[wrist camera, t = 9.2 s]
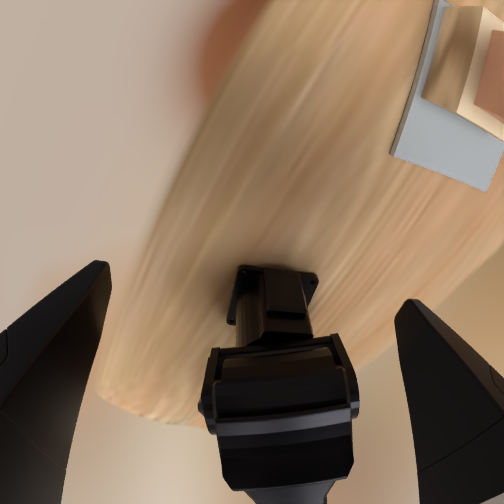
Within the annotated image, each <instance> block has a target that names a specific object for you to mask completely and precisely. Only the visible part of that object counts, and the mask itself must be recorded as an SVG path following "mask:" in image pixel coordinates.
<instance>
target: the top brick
mask: <svg viewBox="0 0 504 504" xmlns="http://www.w3.org/2000/svg"><path fill="white" fill-rule="evenodd" d="M474 105H476V106H477V107H479V108H480V109H482V110H484V111H485V112H487V113H488V114H490V115H491V116H493V117H494V118H496V119H497V120H499V121H500V122H502V123H503V124H504V31H498V30H492V34H491V39H490V44H489V48H488V53H487V57H486V61H485V65H484V69H483V73H482V77H481V81H480V84H479V88H478V91H477V94H476V98H475V101H474Z"/></svg>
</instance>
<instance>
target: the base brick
mask: <svg viewBox="0 0 504 504" xmlns="http://www.w3.org/2000/svg"><path fill="white" fill-rule="evenodd" d="M492 30H498V31H504V23H503V22H502V21H501V20H500V19H498V18H497V17H496V16H495V15H493V14H492V13H491V12H490V11H488V10H487V9H486V8H485V7H475V6H464V7H444V12H443V16H442V21H441V25H440V29H439V33H438V38H437V42H436V45H435V49H434V53H433V57H432V61H431V64H430V68H429V71H428V75H427V78H426V82H425V85H424V88H423V91H422V95H421V98H423V99H425V100H427V101H429V102H432V103H434V104H436V105H438V106H440V107H442V108H444V109H446V110H448V111H449V112H451V113H453V114H455V115H457V116H459V117H461V118H463V119H464V120H466V121H468V122H470V123H471V124H473V125H475V126H477V127H478V128H480V129H482V130H483V131H485V132H487V133H488V134H490V135H492V136H494V137H495V138H497V139H499V140H501V141H502V142H504V124H503V123H502V122H500V121H499V120H497V119H496V118H494V117H493V116H491V115H490V114H488V113H487V112H485V111H484V110H482V109H480V108H479V107H477V106H476V105H474V101H475V98H476V94H477V91H478V88H479V84H480V81H481V77H482V73H483V69H484V65H485V61H486V57H487V53H488V48H489V44H490V39H491V34H492Z"/></svg>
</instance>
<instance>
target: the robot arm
mask: <svg viewBox="0 0 504 504" xmlns="http://www.w3.org/2000/svg"><path fill="white" fill-rule="evenodd" d="M242 271H245V273H242ZM311 280H314V281H311ZM318 283H319V280H318V277H317V276H316V275H314V274H308V273H300V272H292V271H284V270H276V269H269V268H261V267H253V266H246V265H242V266H240V267H238V269H237V272H236V277H235V281H234V286H233V290H232V295H231V299H230V304H229V308H228V313H227V318H226V321H227V323H228V324H229V325H235V326H236V347H233V348H221V349H220V347H217V348H212V350H211V355H210V357H209V358H208V363H207V367H206V372H205V377H204V382H203V387H202V392H201V398H200V400H199V402H198V411H199V412H200V413H201V414H202V415H203V416H204V418H205V421H206V425H207V428H208V431H209V432H210V434H212V435H217V441H218V447H219V453H220V458H221V464H222V475H223V478H224V480H225V481H226V482H227V484H228V485H229V487H230V488H231V489H232V490H233V491H244V492H246V494H247V495H248V496H249V497H250V498H251V499H252V500H253V501H254V502H255V503H256V504H327V497H326V496H327V494H328V492H329V491H330V489H331V487H332V486H333V484H334V483H335V481H336V480H341V479H346V478H347V477H348V474H349V472H350V470H351V468H352V466H353V463H354V457H353V442H352V419H354V418H357V416H358V414H359V401H360V400H359V389H358V383H357V378H356V374H355V371H354V369H353V366H352V364H351V362H350V359H349V357H348V355H347V353H346V350H345V348H344V346H343V344H342V341H341V339H340V337H339V335H338V333H335V334H330V336H324V337H317V338H314V335H313V331H312V326H311V322H310V317H309V313H308V305H309V303H310V301H311V299H312V297H313V294H314V292H315V290H316V288H317V285H318ZM111 290H112V282H111V273H110V266H109V263H108V262H106V261H99V260H94V261H93V262H91V263H90V264H88V265H87V266H86V267H84V268H83V269H82V270H80V271H79V272H77V273H76V274H75V275H73V276H72V277H71V278H69V279H68V280H67V281H65V282H64V283H63V284H61V285H60V286H59V287H57V288H56V289H55V290H53V291H52V292H51V293H49V294H48V295H47V296H46V297H44V298H43V299H42V300H40V301H39V302H38V303H37V304H35V305H34V306H33V307H32V308H30V309H29V310H28V311H27V312H26V313H24V314H23V315H22V316H21V317H20V318H18V319H17V320H16V321H14V322H13V323H12V324H11V325H10V326H8V327H7V330H6V329H5V330H4V331H2V332H1V333H0V504H61V499H62V492H63V486H64V480H65V475H66V468H67V463H68V458H69V453H70V448H71V444H72V439H73V435H74V431H75V426H76V422H77V418H78V414H79V410H80V406H81V403H82V399H83V395H84V392H85V388H86V385H87V381H88V378H89V374H90V371H91V368H92V365H93V361H94V358H95V355H96V352H97V349H98V345H99V342H100V339H101V335H102V330H103V325H104V321H105V316H106V312H107V307H108V303H109V299H110V295H111ZM232 319H233V320H232ZM394 324H395V331H396V338H397V345H398V353H399V361H400V366H401V371H402V376H403V381H404V386H405V391H406V397H407V402H408V408H409V413H410V420H411V426H412V433H413V440H414V448H415V455H416V464H417V472H418V473H417V475H418V487H419V500H420V504H504V378H503V377H502V376H501V375H500V374H499V373H498V372H497V371H496V370H495V369H494V368H493V367H492V366H491V365H489V364H488V362H487V361H485V360H484V358H482V357H481V356H480V355H479V354H478V353H477V352H476V351H475V350H474V349H473V348H472V347H471V346H470V345H469V344H468V343H467V342H466V341H464V340H463V339H462V338H461V337H460V336H459V335H458V334H457V333H456V332H455V331H454V330H452V329H451V328H450V327H449V326H448V325H447V324H446V323H445V322H443V321H442V320H441V319H440V318H439V317H438V316H437V315H436V314H434V313H433V312H432V311H431V310H430V309H429V308H428V307H427V306H425V305H424V304H423V303H422V302H421V301H420V300H418V299H407V300H406V301H405V302H404V304H403V305H402V307H401V308H400V310H399V311H398V313H397V314H396V316H395V319H394Z"/></svg>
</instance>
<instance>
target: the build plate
mask: <svg viewBox="0 0 504 504" xmlns="http://www.w3.org/2000/svg"><path fill="white" fill-rule="evenodd" d="M444 7H454V6H452V5H451V4H449V3H448V2H446V1H444V0H434V4H433V9H432V13H431V18H430V22H429V26H428V30H427V34H426V38H425V42H424V46H423V50H422V54H421V57H420V61H419V65H418V68H417V72H416V75H415V78H414V82H413V85H412V88H411V92H410V95H409V98H408V101H407V105H406V108H405V111H404V114H403V117H402V120H401V123H400V126H399V129H398V132H397V134H396V137H395V140H394V143H393V146H392V149H391V151H390V154H391V155H392V156H393V157H396V158H399V159H402V160H405V161H408V162H411V163H414V164H417V165H419V166H422V167H425V168H428V169H430V170H433V171H436V172H438V173H441V174H443V175H446V176H449V177H451V178H453V179H456V180H458V181H461V182H463V183H466V184H468V185H470V186H473V187H475V188H477V189H480V190H482V191H484V192H486V191H487V189H488V187H489V184H490V182H491V180H492V177H493V175H494V173H495V170H496V168H497V166H498V163H499V161H500V158H501V156H502V153H503V151H504V142H502V141H501V140H499V139H497V138H495V137H494V136H492V135H490V134H488V133H487V132H485V131H483V130H482V129H480V128H478V127H477V126H475V125H473V124H471V123H470V122H468V121H466V120H464V119H463V118H461V117H459V116H457V115H455V114H453V113H451V112H449V111H448V110H446V109H444V108H442V107H440V106H438V105H436V104H434V103H432V102H429V101H427V100H425V99H423V98H421V95H422V91H423V88H424V85H425V82H426V78H427V75H428V71H429V68H430V64H431V61H432V57H433V53H434V49H435V45H436V42H437V38H438V33H439V29H440V25H441V21H442V16H443V12H444Z"/></svg>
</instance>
